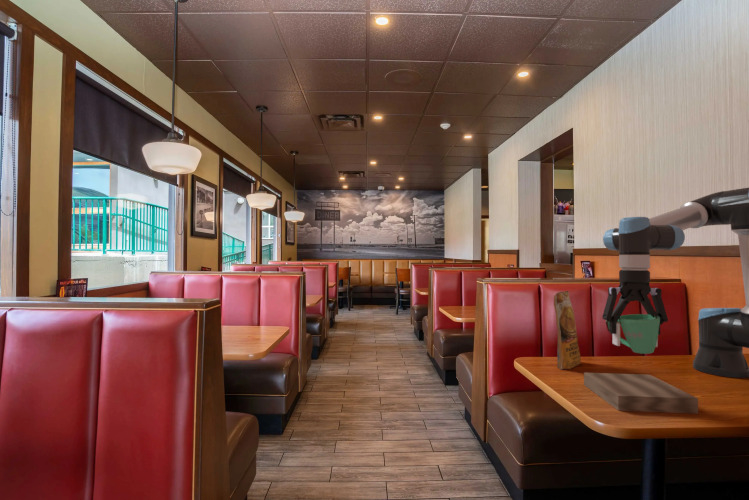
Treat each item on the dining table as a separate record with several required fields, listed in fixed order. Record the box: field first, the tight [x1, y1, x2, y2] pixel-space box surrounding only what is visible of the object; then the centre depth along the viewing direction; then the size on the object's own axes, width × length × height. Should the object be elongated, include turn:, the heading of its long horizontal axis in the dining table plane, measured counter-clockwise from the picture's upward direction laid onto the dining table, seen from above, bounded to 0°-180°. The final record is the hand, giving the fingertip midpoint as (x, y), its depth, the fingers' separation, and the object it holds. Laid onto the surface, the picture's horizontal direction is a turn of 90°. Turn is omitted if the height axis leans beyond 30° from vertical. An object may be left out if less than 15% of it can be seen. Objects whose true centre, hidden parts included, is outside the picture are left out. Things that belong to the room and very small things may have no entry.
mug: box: [605, 313, 660, 355], centre depth 110 cm, size 15×10×10 cm
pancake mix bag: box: [553, 291, 582, 370], centre depth 143 cm, size 7×19×28 cm, turn 132°
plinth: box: [583, 372, 699, 415], centre depth 110 cm, size 20×20×4 cm
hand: (634, 345), depth 110 cm, fingers closed on mug, 10 cm apart
